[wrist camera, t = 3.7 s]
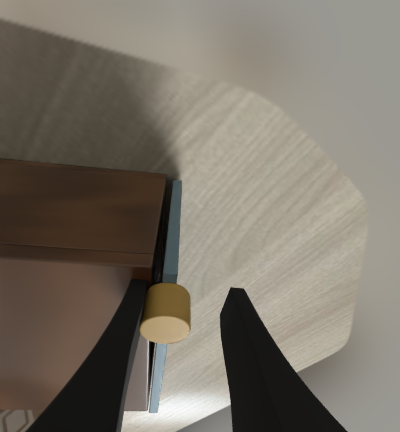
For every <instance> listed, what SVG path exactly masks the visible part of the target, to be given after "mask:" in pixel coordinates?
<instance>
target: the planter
mask: <svg viewBox="0 0 400 432" xmlns="http://www.w3.org/2000/svg"><path fill="white" fill-rule="evenodd" d="M43 411H44V410H0V432H25V431H26V430H27V429H28V428H29V427H30V426H31V425H32V423H33V422H34V421H35V420H36V419H37V418H38V417H39V415H40V414H41V413H42V412H43Z"/></svg>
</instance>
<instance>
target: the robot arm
mask: <svg viewBox="0 0 400 432" xmlns="http://www.w3.org/2000/svg"><path fill="white" fill-rule="evenodd" d="M146 287H147V280H140V279H132V280H130V283H129V286H128V288H127V291H126V293H125V295H124V297H123V299H122V301H121V303H120V305H119V307H118V309H117V311H116V312H115V314H114V316H113V318H112V319H111V321H110V323H109V325H108V326H107V328H106V329H105V331H104V332H103V334H102V335H101V337H100V339H99V340H98V342H97V343H96V345H95V346H94V348H93V349H92V351H91V352H90V353H89V355H88V356H87V358H86V359H85V360H84V362H83V363H82V364H81V366H80V367H79V368H78V370H77V371H76V372H75V374H74V375H73V376H72V377H71V379H70V380H69V381H68V382H67V384H66V385H65V386H64V387H63V389H62V390H61V391H60V392H59V394H58V395H57V396H56V397H55V398H54V399H53V401H52V402H51V403H50V404H49V405H48V406H47V407H46V409H45V410H44V411H43V412H42V413H41V414H40V415H39V417H38V418H37V419H36V420H35V421H34V422H33V423H32V425H31V426H30V427H29V428H28V429H27V430H26V431H25V432H121V427H122V420H123V413H124V407H125V400H126V395H127V390H128V385H129V380H130V376H131V372H132V367H133V363H134V359H135V354H136V350H137V346H138V341H139V337H140V330H139V326H140V321H141V317H142V312H143V308H144V301H145V294H146ZM220 328H221V340H222V347H223V354H224V360H225V366H226V372H227V379H228V385H229V392H230V400H231V413H232V424H233V425H232V426H233V432H347V431H346V430H345V429H344V428H343V426H341V424H339V422H338V421H337V420H336V419H335V418H334V417H333V416H332V415H331V414H330V413H329V411H328V410H327V409H326V408H325V407H324V406H323V405H322V403H321V402H320V401H319V400H318V399H317V398H316V397H315V396H314V395H313V393H312V392H311V391H310V390H309V388H308V387H307V386H306V385H305V383H304V382H303V381H302V380H301V378H300V377H299V376H298V375H297V373H296V372H295V370H294V369H293V368H292V366H291V365H290V364H289V362H288V361H287V359H286V358H285V357H284V355H283V354H282V352H281V351H280V349H279V348H278V346H277V345H276V343H275V342H274V340H273V339H272V337H271V335H270V334H269V332H268V330H267V329H266V327H265V326H264V324H263V322H262V320H261V319H260V317H259V315H258V314H257V312H256V310H255V308H254V306H253V305H252V303H251V301H250V299H249V297H248V295H247V293H246V291H245V290H244V289H242V288H232V287H231V288H230V290H229V293H228V296H227V298H226V301H225V303H224V306H223V308H222V311H221V313H220Z"/></svg>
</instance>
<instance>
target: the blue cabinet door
mask: <svg viewBox="0 0 400 432" xmlns="http://www.w3.org/2000/svg"><path fill="white" fill-rule="evenodd" d="M181 194H182V181H177V180H173V185H172V195H171V204H170V213H169V223H168V232H167V241H166V251H165V260H164V269H163V279H162V283H159V284H156V285H153V286H152V287H150V288H149V289H148V290H147V291H146V294H145V301H144V308H143V312H142V317H141V321H140V326H139V330H140V333H141V335H142V336H143V337H144V338H145V339H147V340H149V341H151V342H154V343H156V349H155V359H154V368H153V378H152V388H151V398H150V408H149V413H157V412H158V406H159V399H160V392H161V385H162V379H163V372H164V365H165V358H166V351H167V344H171V343H176V342H179V341H181V340H183V339H185V338H186V337H187V336H188V334H189V333H190V329H191V326H190V294H189V293H188V291H187V290H186V289H185V288H184V287H182V286H181V285H178V284H176V282H177V276H178V258H179V236H180V215H181Z"/></svg>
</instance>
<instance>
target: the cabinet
mask: <svg viewBox="0 0 400 432" xmlns="http://www.w3.org/2000/svg"><path fill="white" fill-rule="evenodd" d="M165 189H166V175H165V174H154V173H144V172H133V171H123V170H113V169H102V168H92V167H81V166H71V165H61V164H50V163H40V162H30V161H19V160H9V159H0V410H45V409H46V407H47V406H48V405H49V404H50V403H51V402H52V401H53V399H54V398H55V397H56V396H57V395H58V394H59V392H60V391H61V390H62V389H63V387H64V386H65V385H66V384H67V382H68V381H69V380H70V379H71V377H72V376H73V375H74V374H75V372H76V371H77V370H78V368H79V367H80V366H81V364H82V363H83V362H84V360H85V359H86V358H87V356H88V355H89V353H90V352H91V351H92V349H93V348H94V346H95V345H96V343H97V342H98V340H99V339H100V337H101V335H102V334H103V332H104V331H105V329H106V328H107V326H108V325H109V323H110V321H111V319H112V318H113V316H114V314H115V312H116V311H117V309H118V307H119V305H120V303H121V301H122V299H123V297H124V295H125V293H126V291H127V288H128V286H129V283H130V280H132V279H140V280H147V287H146V291H147V290H148V289H149V288H150V287H152V286H153V285H156V284H159V283H160V277H161V260H162V242H163V224H164V206H165ZM154 348H155V343H154V342H151V341H149V340H147V339H145V338H144V337H143V336H142V335H141V333H140V337H139V341H138V346H137V350H136V354H135V359H134V363H133V367H132V372H131V376H130V380H129V385H128V390H127V395H126V400H125V407H124V411H147V410H148V403H149V394H150V385H151V376H152V367H153V357H154Z"/></svg>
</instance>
